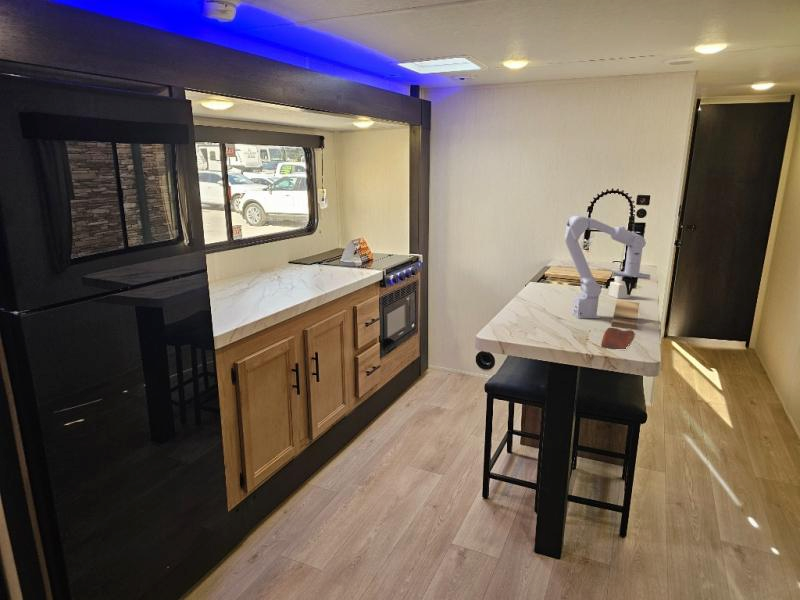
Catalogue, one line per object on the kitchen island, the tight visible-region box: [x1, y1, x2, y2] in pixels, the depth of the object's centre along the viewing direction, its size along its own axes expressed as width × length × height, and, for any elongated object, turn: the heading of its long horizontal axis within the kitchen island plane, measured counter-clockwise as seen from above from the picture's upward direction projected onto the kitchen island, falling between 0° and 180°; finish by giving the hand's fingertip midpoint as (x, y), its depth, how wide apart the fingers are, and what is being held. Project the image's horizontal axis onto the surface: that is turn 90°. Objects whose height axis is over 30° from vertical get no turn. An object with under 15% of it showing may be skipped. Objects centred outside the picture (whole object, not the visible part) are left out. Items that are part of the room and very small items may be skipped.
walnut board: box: [610, 315, 638, 330], centre depth 214 cm, size 8×9×3 cm
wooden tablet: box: [600, 327, 634, 350], centre depth 196 cm, size 27×10×2 cm, turn 151°
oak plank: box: [613, 299, 640, 319], centre depth 222 cm, size 11×9×2 cm
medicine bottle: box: [608, 276, 631, 300], centre depth 261 cm, size 7×7×12 cm
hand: (628, 294), depth 223 cm, fingers closed
